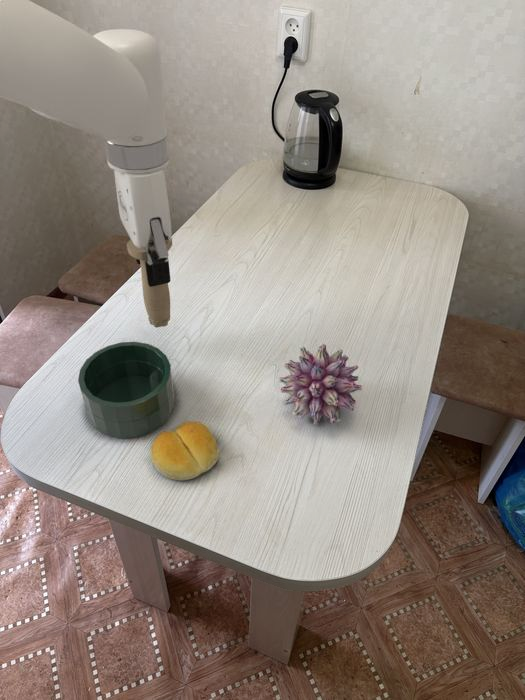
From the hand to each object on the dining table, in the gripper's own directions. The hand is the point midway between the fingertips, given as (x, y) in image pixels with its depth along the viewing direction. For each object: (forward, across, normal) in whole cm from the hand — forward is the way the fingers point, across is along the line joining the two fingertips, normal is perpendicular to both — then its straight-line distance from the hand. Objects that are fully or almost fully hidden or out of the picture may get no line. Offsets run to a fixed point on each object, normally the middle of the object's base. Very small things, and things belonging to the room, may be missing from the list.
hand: (153, 271), depth 74 cm
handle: (+10, 0, 0) cm, 10 cm away
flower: (+16, +22, +17) cm, 32 cm away
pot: (+16, +10, -8) cm, 20 cm away
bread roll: (+16, +22, -4) cm, 27 cm away
